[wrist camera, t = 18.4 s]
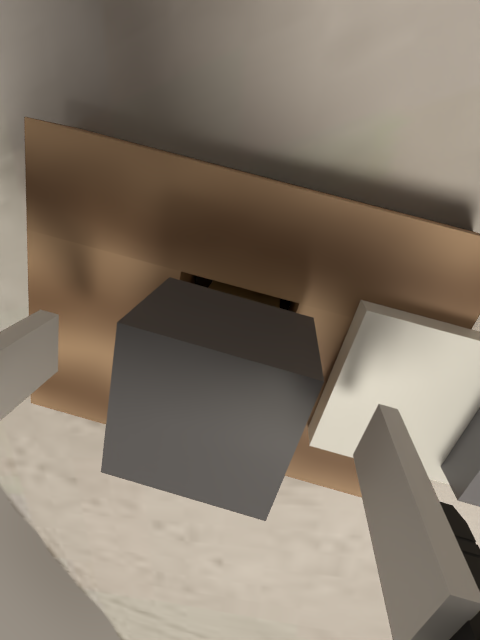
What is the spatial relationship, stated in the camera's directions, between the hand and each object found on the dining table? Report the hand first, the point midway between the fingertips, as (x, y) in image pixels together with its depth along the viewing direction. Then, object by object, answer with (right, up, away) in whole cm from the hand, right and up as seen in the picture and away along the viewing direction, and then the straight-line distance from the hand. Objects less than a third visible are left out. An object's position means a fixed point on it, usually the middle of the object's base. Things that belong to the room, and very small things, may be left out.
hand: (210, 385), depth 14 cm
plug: (+1, +3, +8) cm, 9 cm away
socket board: (+1, +3, +8) cm, 9 cm away
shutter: (+10, -1, +4) cm, 11 cm away
